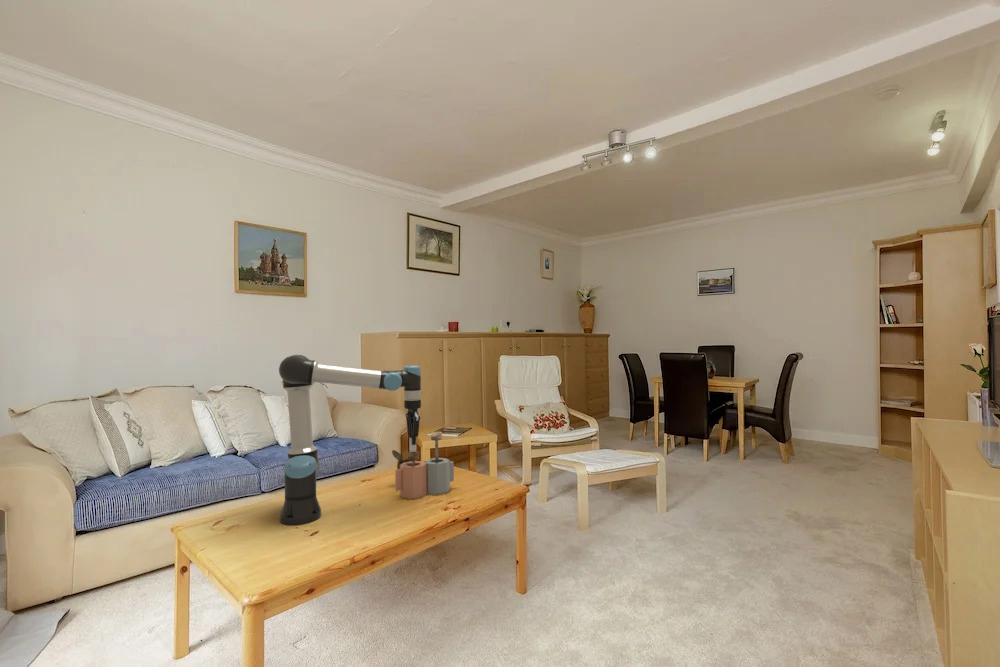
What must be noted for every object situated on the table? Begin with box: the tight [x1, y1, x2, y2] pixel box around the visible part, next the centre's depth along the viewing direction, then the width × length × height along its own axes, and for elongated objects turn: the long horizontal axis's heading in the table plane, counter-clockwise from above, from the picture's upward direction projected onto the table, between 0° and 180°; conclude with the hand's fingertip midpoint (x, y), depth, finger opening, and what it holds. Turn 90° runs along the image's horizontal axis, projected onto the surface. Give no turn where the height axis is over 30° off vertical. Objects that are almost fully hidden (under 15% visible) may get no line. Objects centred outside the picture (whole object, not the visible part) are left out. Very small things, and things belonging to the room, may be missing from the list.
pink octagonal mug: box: [394, 460, 428, 500], centre depth 216 cm, size 14×11×14 cm
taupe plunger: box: [407, 450, 420, 466], centre depth 216 cm, size 5×5×16 cm
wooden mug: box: [391, 449, 411, 470], centre depth 234 cm, size 9×14×18 cm, turn 142°
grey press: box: [423, 457, 455, 496], centre depth 223 cm, size 14×11×14 cm
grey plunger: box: [430, 431, 443, 463], centre depth 222 cm, size 5×5×16 cm
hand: (413, 451), depth 217 cm, fingers closed
